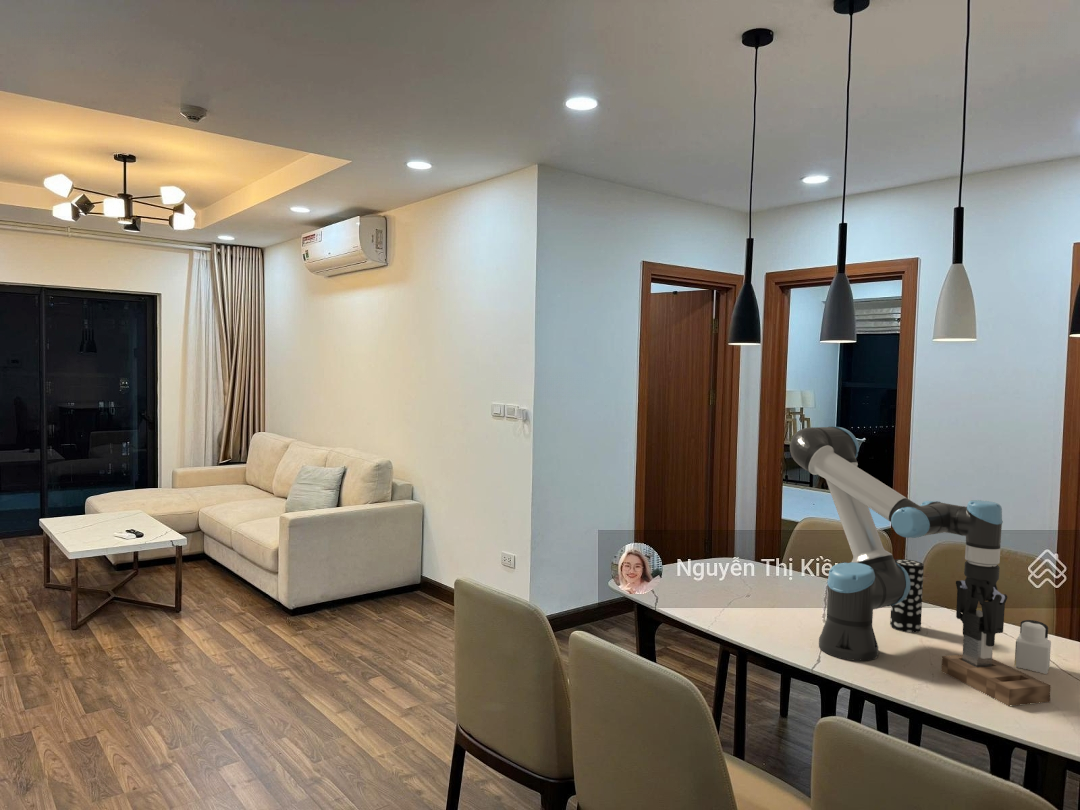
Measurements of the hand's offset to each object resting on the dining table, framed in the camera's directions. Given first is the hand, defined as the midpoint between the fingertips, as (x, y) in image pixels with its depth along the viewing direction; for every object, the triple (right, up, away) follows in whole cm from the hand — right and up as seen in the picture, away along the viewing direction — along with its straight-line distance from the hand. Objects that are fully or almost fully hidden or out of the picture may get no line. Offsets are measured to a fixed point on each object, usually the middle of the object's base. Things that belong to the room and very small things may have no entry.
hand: (977, 653), depth 183 cm
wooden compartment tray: (+1, -6, -5) cm, 8 cm away
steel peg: (0, -4, 0) cm, 4 cm away
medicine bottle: (+20, -7, +8) cm, 22 cm away
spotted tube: (0, -5, +36) cm, 37 cm away
